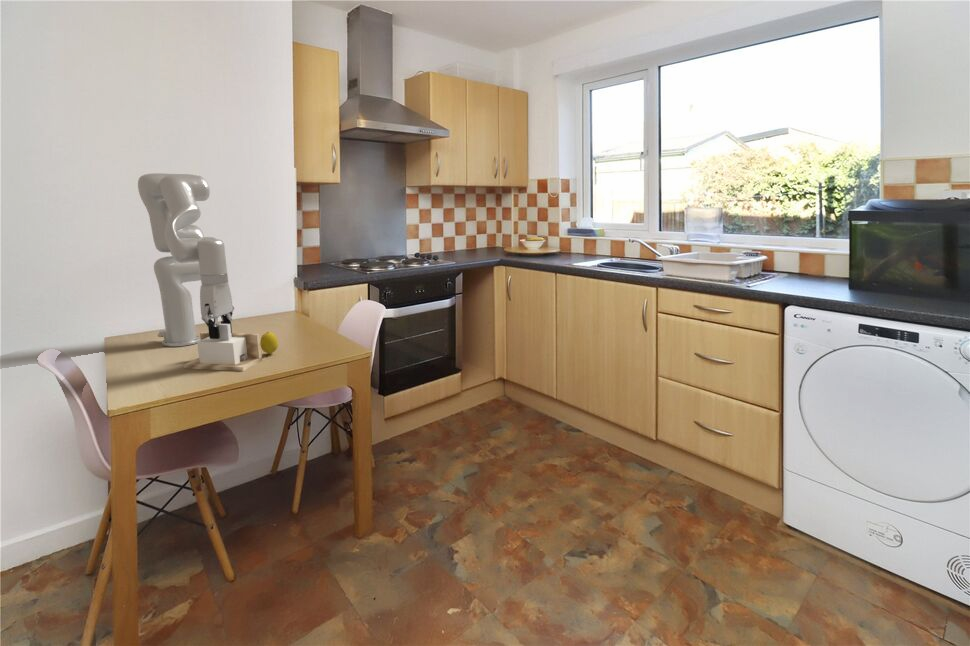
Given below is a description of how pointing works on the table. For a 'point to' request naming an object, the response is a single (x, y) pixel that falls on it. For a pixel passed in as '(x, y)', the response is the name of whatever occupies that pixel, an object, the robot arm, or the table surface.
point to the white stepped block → (222, 348)
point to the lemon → (269, 343)
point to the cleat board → (222, 366)
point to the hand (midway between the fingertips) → (221, 335)
